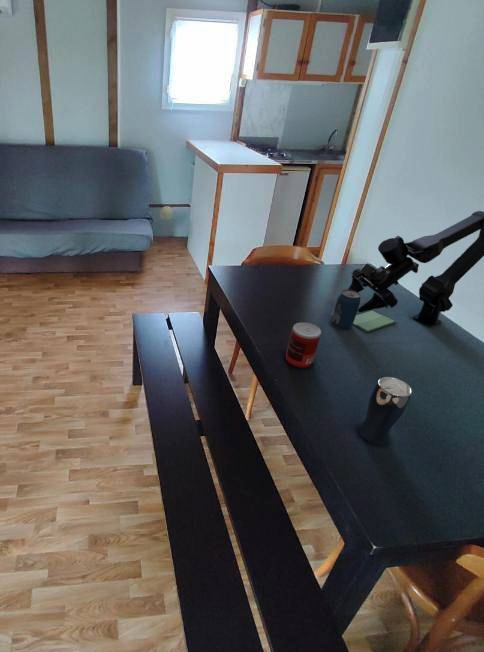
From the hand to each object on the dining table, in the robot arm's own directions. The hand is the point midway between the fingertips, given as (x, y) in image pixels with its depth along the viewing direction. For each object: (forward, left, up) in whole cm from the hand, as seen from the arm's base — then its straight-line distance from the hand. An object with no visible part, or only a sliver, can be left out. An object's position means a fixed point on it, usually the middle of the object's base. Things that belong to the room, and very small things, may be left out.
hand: (350, 304), depth 134 cm
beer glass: (+35, +38, -8) cm, 53 cm away
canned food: (+29, +8, -8) cm, 32 cm away
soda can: (+1, 0, -8) cm, 8 cm away
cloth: (-10, +2, -8) cm, 13 cm away
